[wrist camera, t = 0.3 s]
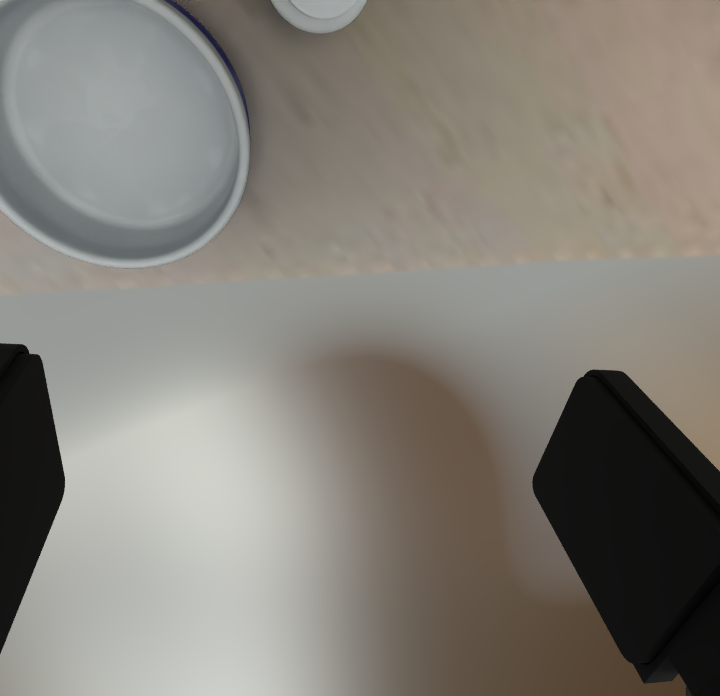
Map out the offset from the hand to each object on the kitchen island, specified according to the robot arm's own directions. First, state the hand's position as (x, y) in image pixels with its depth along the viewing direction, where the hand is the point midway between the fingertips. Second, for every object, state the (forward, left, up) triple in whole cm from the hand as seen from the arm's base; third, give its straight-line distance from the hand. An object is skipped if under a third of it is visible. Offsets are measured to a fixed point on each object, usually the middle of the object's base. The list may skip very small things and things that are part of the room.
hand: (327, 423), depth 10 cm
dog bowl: (+2, -9, -31) cm, 33 cm away
